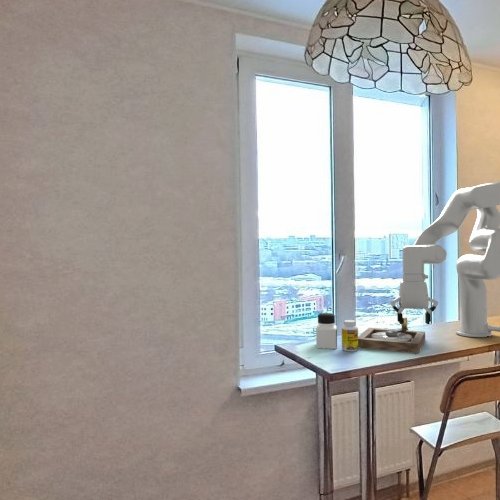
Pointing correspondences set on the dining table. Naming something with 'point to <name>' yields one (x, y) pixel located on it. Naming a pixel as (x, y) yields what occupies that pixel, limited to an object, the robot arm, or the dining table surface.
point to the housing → (391, 341)
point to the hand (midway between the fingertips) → (414, 323)
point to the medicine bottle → (326, 331)
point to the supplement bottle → (349, 336)
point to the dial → (394, 333)
